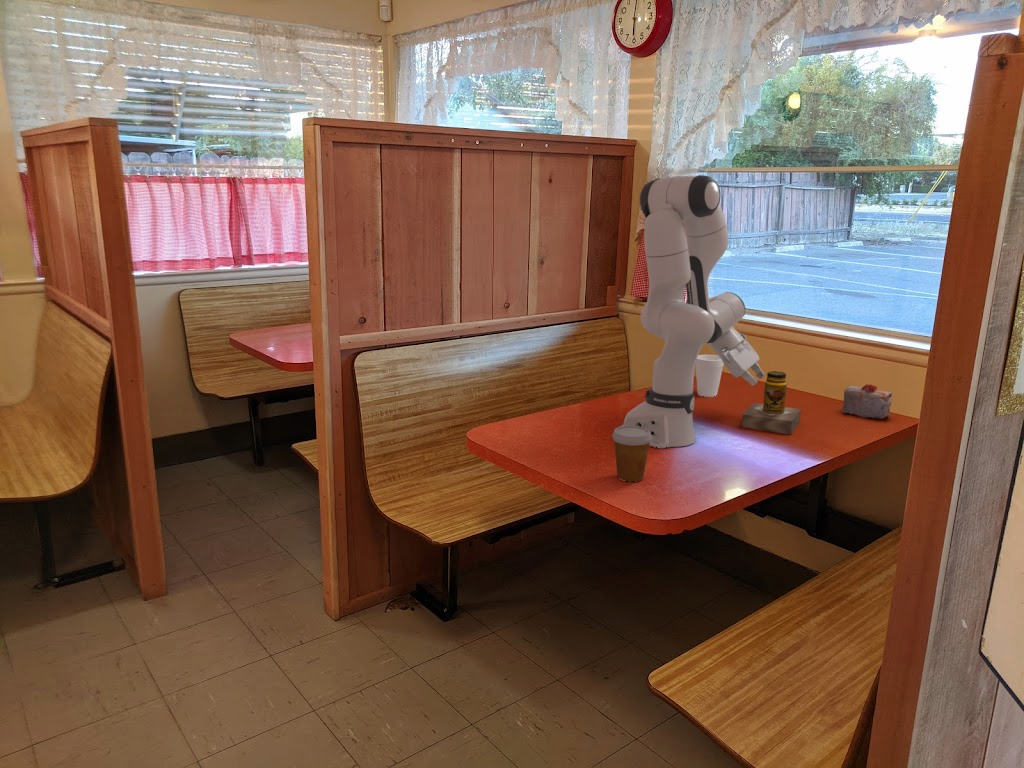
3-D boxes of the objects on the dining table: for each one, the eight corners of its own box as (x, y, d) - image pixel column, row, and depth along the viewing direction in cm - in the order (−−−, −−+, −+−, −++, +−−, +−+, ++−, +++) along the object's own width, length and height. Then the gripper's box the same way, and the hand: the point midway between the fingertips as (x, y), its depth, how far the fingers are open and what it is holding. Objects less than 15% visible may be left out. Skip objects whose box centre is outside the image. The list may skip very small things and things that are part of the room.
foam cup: (691, 390, 262) (693, 354, 258) (717, 391, 261) (720, 354, 258) (696, 398, 253) (698, 360, 249) (724, 398, 252) (726, 360, 249)
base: (741, 427, 222) (742, 414, 221) (752, 415, 234) (753, 402, 233) (791, 434, 215) (792, 421, 214) (799, 421, 227) (800, 409, 226)
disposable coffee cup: (645, 470, 188) (647, 424, 185) (653, 484, 179) (656, 437, 176) (607, 470, 188) (609, 425, 185) (614, 485, 179) (615, 437, 176)
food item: (892, 416, 233) (896, 385, 230) (886, 422, 226) (890, 391, 224) (846, 408, 241) (849, 379, 238) (839, 414, 235) (842, 384, 232)
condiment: (770, 416, 219) (774, 376, 216) (752, 408, 227) (756, 369, 224) (791, 413, 221) (795, 374, 218) (773, 406, 229) (776, 368, 226)
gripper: (727, 344, 215) (759, 381, 213) (744, 333, 232) (774, 367, 230) (711, 357, 218) (742, 394, 216) (729, 345, 235) (758, 379, 233)
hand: (759, 380), depth 223 cm, fingers open, 8 cm apart
